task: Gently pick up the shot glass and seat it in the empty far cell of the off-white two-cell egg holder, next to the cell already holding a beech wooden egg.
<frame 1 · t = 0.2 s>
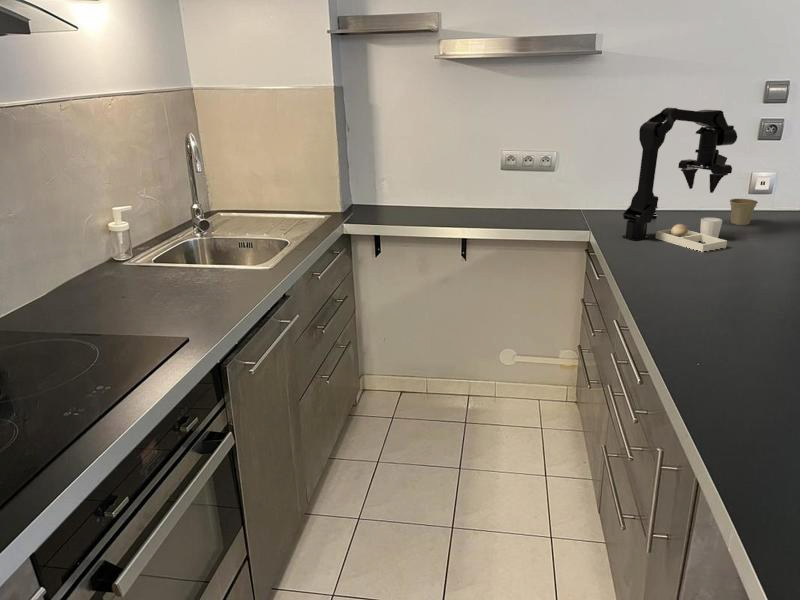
hand: (701, 190, 223), 14 cm above the counter, fingers open, 9 cm apart
flower pot: (739, 224, 234), on the counter
shot glass: (708, 239, 216), on the counter
wooden egg: (678, 239, 215), resting in egg holder
egg holder: (689, 242, 211), on the counter
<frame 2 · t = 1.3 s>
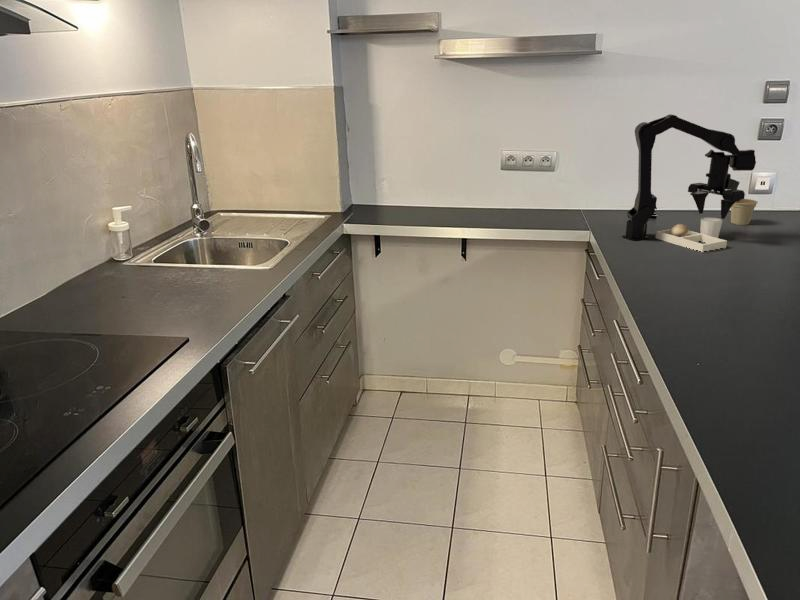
hand: (711, 216, 213), 8 cm above the counter, fingers open, 9 cm apart
nothing on the counter moved.
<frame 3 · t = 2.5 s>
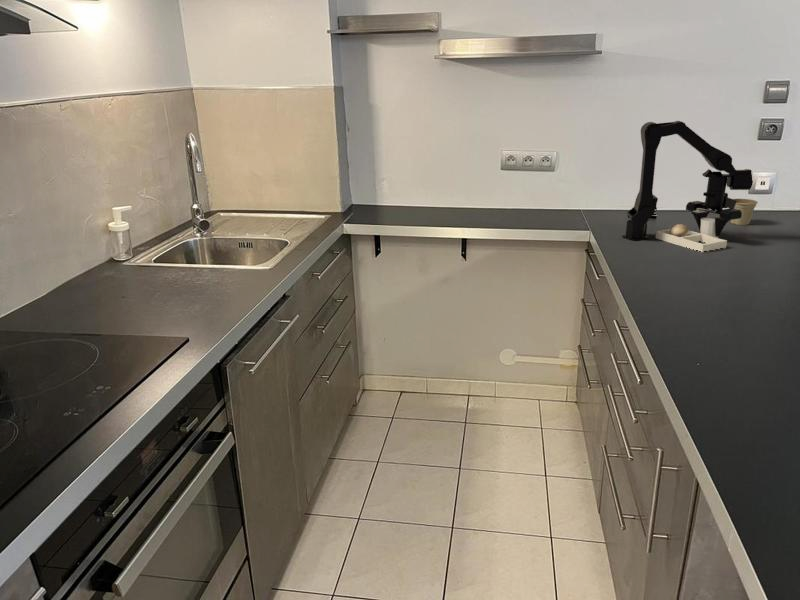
hand: (709, 234, 215), 2 cm above the counter, fingers closed on shot glass, 6 cm apart
shot glass: (708, 239, 216), on the counter, touching gripper
everything else where it was.
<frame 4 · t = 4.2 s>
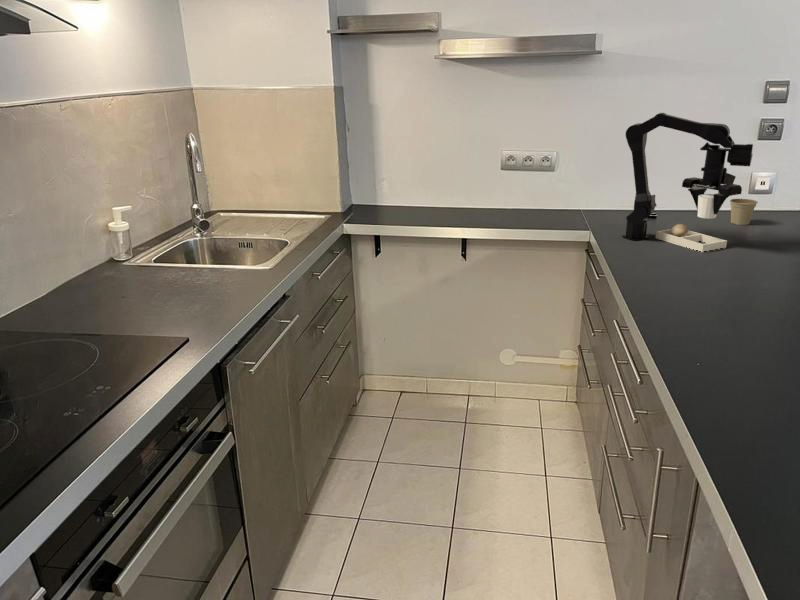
hand: (707, 212, 204), 11 cm above the counter, fingers closed on shot glass, 6 cm apart
shot glass: (706, 217, 205), point 10 cm above the counter, touching gripper
everything else where it was.
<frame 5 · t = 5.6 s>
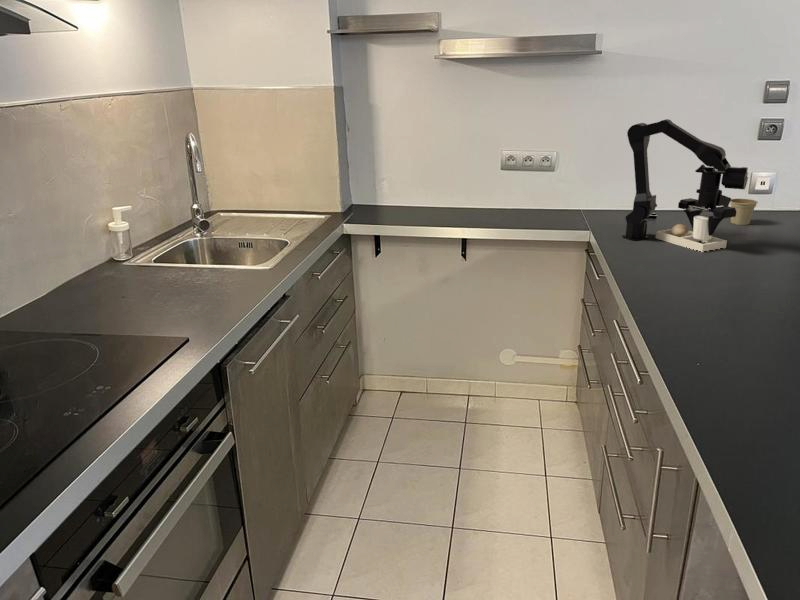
hand: (702, 233, 205), 4 cm above the counter, fingers closed on shot glass, 6 cm apart
shot glass: (701, 238, 206), point 3 cm above the counter, touching gripper
everything else where it was.
when the fingers open (3 cm above the counter, at t = 6.3 s): shot glass drops 2 cm, resting in egg holder.
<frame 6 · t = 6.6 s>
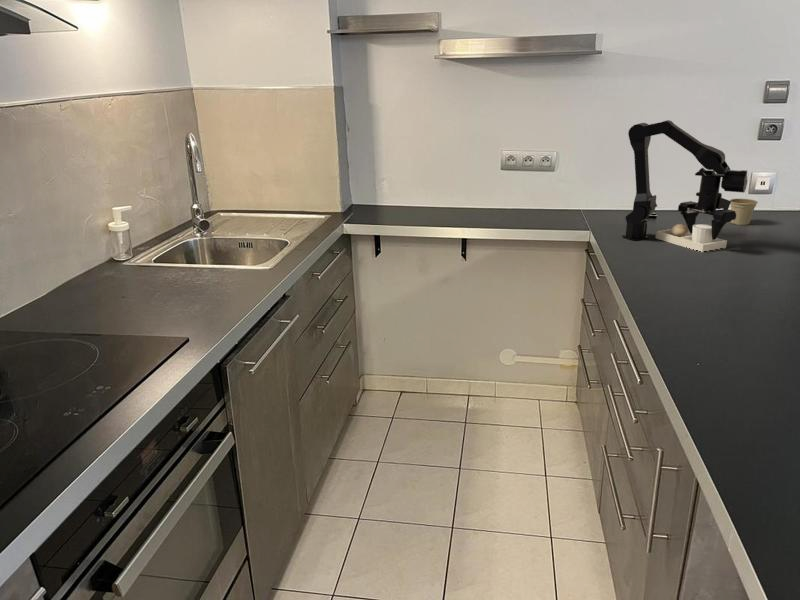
hand: (702, 236, 206), 3 cm above the counter, fingers open, 9 cm apart
shot glass: (700, 246, 207), resting in egg holder
everything else where it was.
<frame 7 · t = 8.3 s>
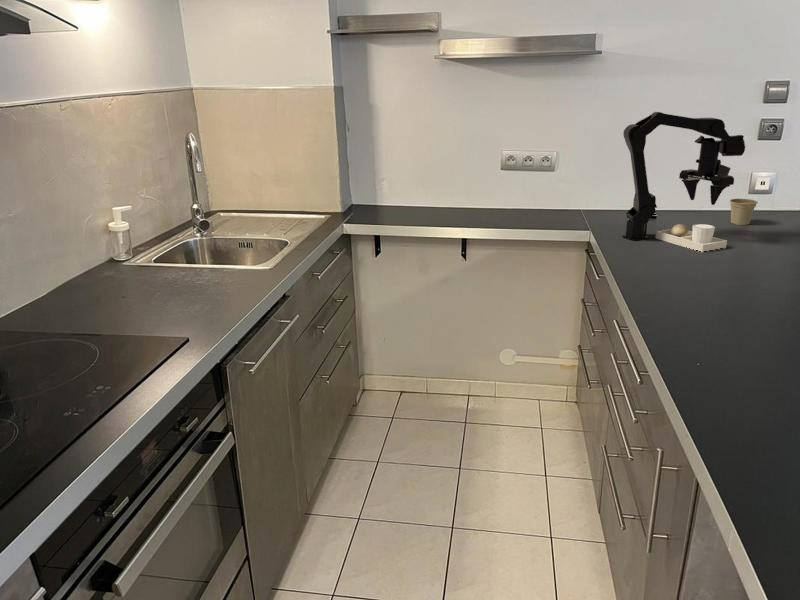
hand: (702, 202, 213), 12 cm above the counter, fingers open, 9 cm apart
nothing on the counter moved.
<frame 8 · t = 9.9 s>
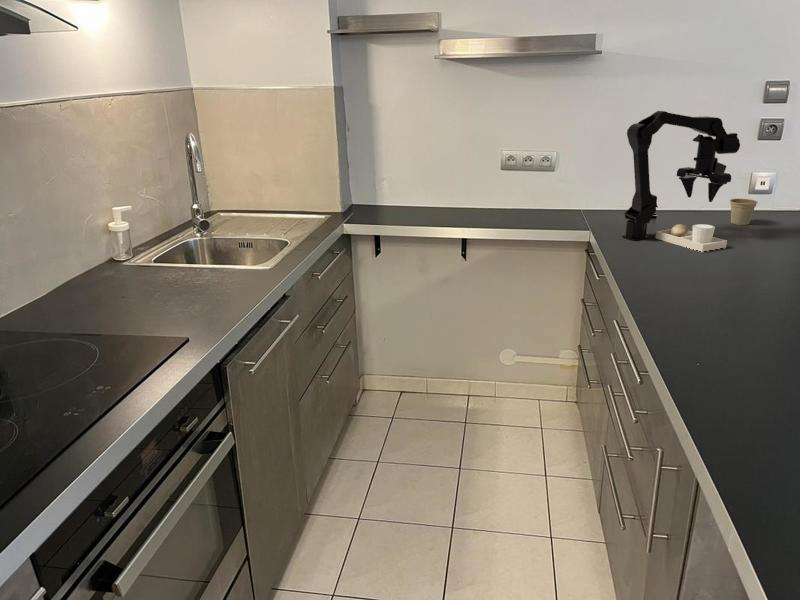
hand: (699, 199, 218), 12 cm above the counter, fingers open, 9 cm apart
nothing on the counter moved.
at the end: shot glass 0.2 cm from the target spot on the egg holder, point 0.0 cm above the egg holder's base; shot glass tilted 0°; the gripper is holding nothing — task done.
